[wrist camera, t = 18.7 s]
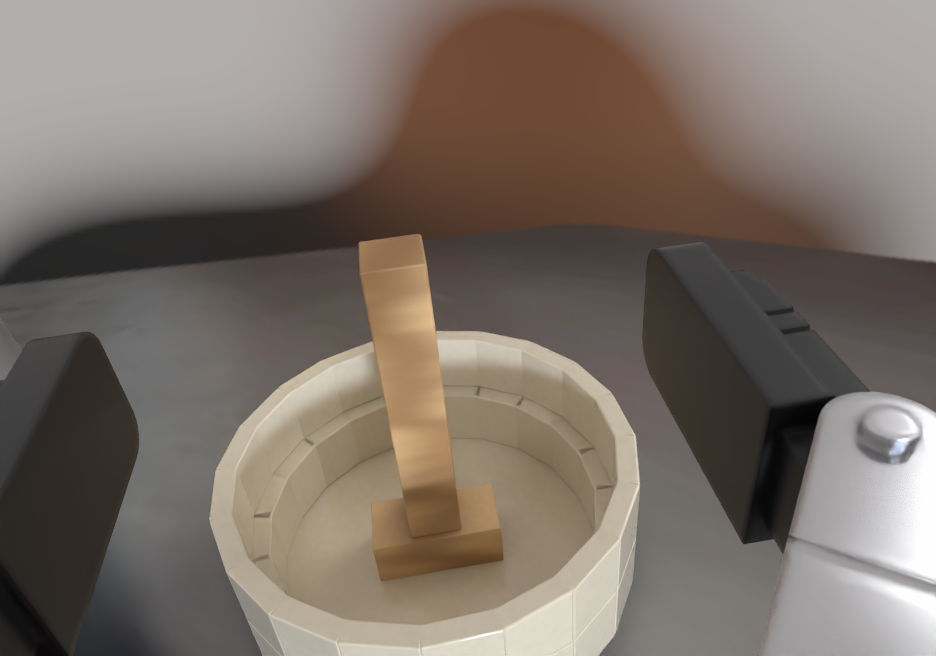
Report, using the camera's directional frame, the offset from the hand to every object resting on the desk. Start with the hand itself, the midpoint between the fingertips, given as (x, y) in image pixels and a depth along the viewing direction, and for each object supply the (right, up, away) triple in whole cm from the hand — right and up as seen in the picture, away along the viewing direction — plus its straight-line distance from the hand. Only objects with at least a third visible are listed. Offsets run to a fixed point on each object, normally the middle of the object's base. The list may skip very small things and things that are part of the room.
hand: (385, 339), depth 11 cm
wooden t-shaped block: (0, -9, +20) cm, 21 cm away
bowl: (0, -9, +20) cm, 22 cm away
